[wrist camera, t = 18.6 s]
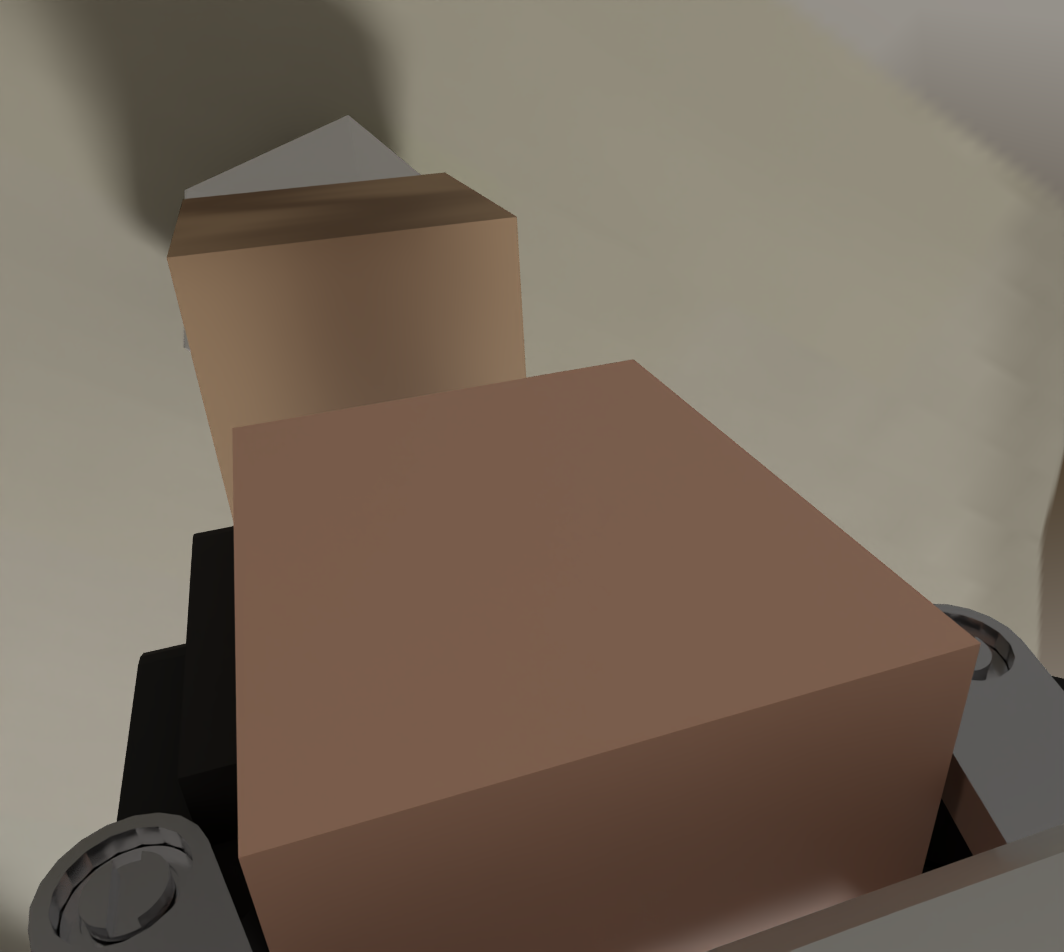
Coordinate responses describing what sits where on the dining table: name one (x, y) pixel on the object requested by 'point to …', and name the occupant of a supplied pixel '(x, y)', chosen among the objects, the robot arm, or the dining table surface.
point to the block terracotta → (566, 679)
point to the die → (310, 164)
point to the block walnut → (344, 298)
